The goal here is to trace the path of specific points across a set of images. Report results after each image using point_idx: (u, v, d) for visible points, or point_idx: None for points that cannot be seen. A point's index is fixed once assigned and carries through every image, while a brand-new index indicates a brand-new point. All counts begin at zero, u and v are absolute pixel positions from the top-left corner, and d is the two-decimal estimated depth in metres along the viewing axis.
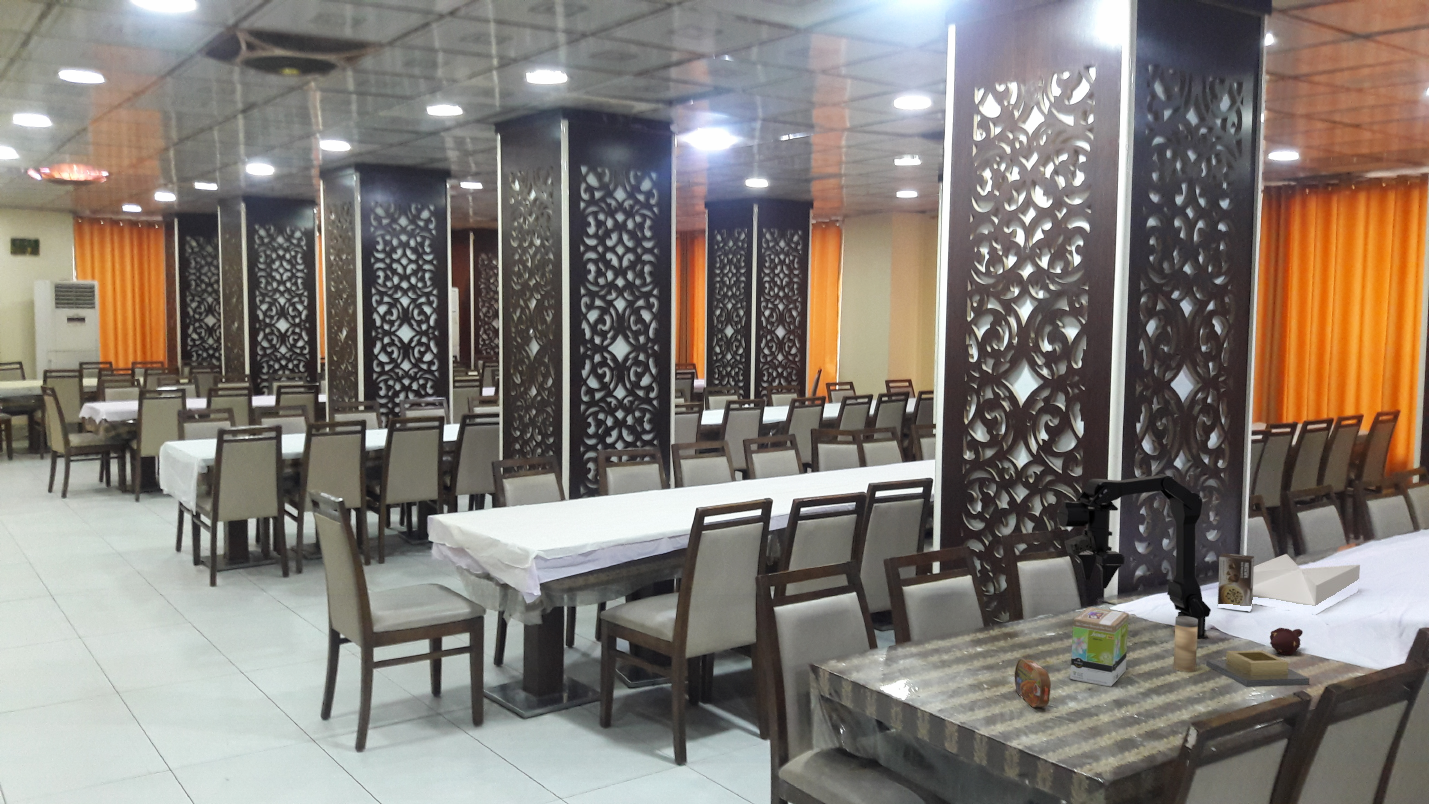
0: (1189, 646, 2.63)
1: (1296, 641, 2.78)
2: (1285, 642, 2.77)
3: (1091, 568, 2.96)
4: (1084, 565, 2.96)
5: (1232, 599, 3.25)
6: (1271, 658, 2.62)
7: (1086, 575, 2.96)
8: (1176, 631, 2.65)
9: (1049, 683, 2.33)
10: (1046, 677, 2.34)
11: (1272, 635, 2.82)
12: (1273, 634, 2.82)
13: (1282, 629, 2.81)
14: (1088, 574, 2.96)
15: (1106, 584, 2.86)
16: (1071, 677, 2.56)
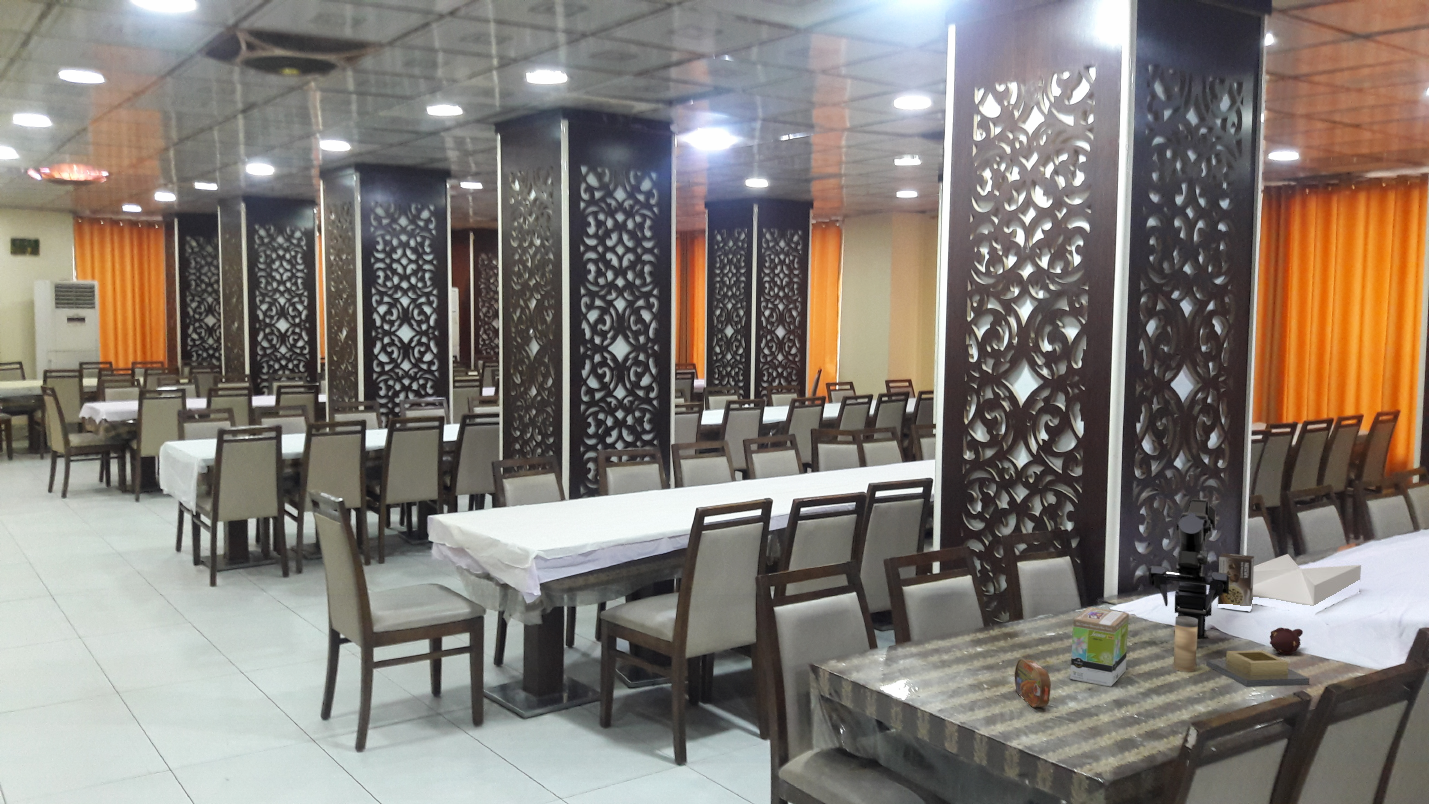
0: (1189, 646, 2.63)
1: (1296, 641, 2.78)
2: (1285, 642, 2.78)
3: None
4: (1166, 589, 2.77)
5: (1232, 599, 3.25)
6: (1271, 658, 2.62)
7: (1166, 599, 2.75)
8: (1176, 631, 2.65)
9: (1049, 683, 2.33)
10: (1046, 677, 2.34)
11: (1272, 635, 2.83)
12: (1273, 634, 2.82)
13: (1282, 629, 2.81)
14: (1167, 600, 2.76)
15: (1208, 607, 2.71)
16: (1071, 677, 2.56)
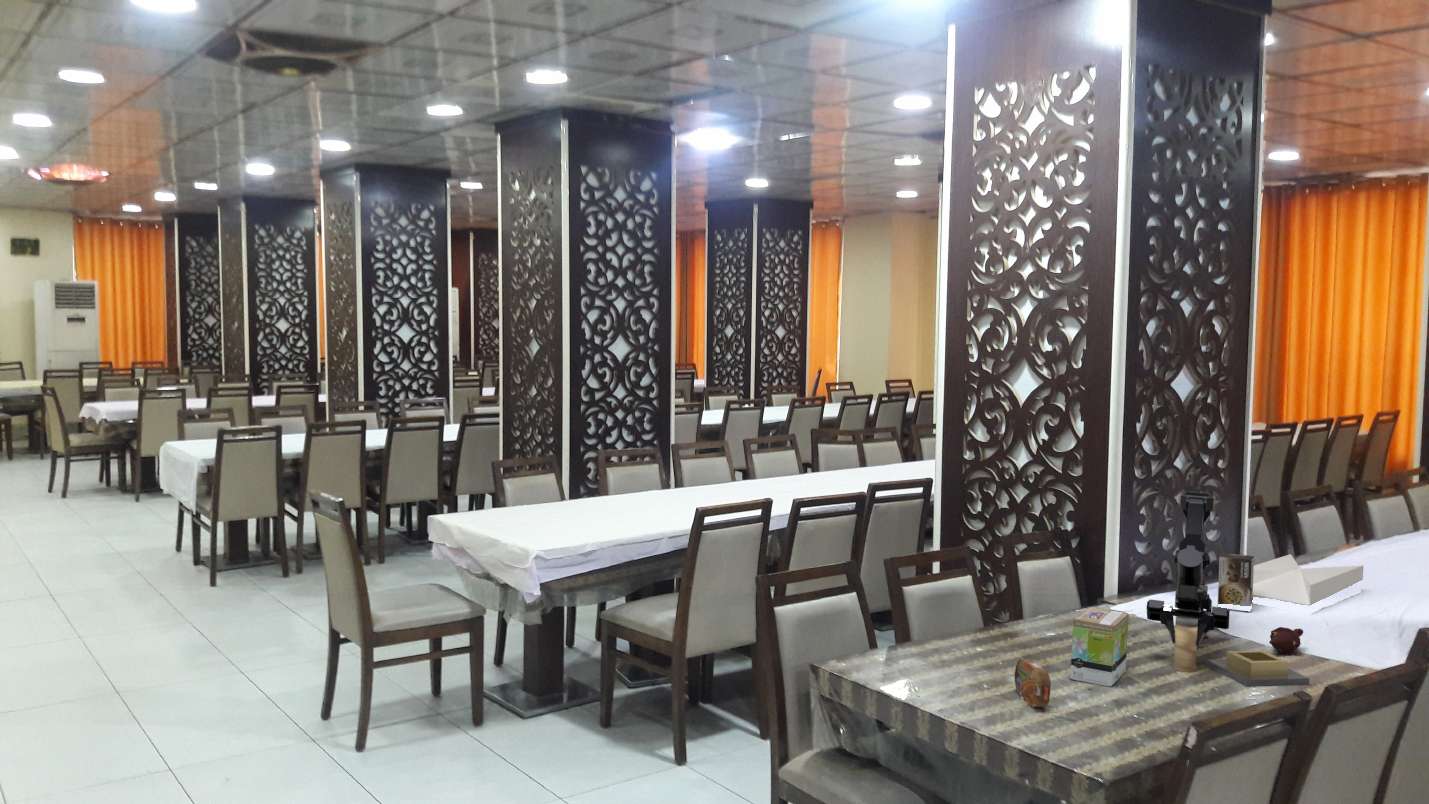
0: (1189, 646, 2.63)
1: (1296, 640, 2.78)
2: (1284, 641, 2.78)
3: None
4: (1173, 625, 2.67)
5: (1232, 599, 3.25)
6: (1271, 658, 2.62)
7: (1174, 636, 2.66)
8: (1176, 631, 2.65)
9: (1049, 683, 2.33)
10: (1046, 677, 2.34)
11: (1272, 634, 2.83)
12: (1273, 633, 2.83)
13: (1282, 628, 2.81)
14: (1174, 636, 2.67)
15: (1200, 642, 2.64)
16: (1071, 677, 2.56)
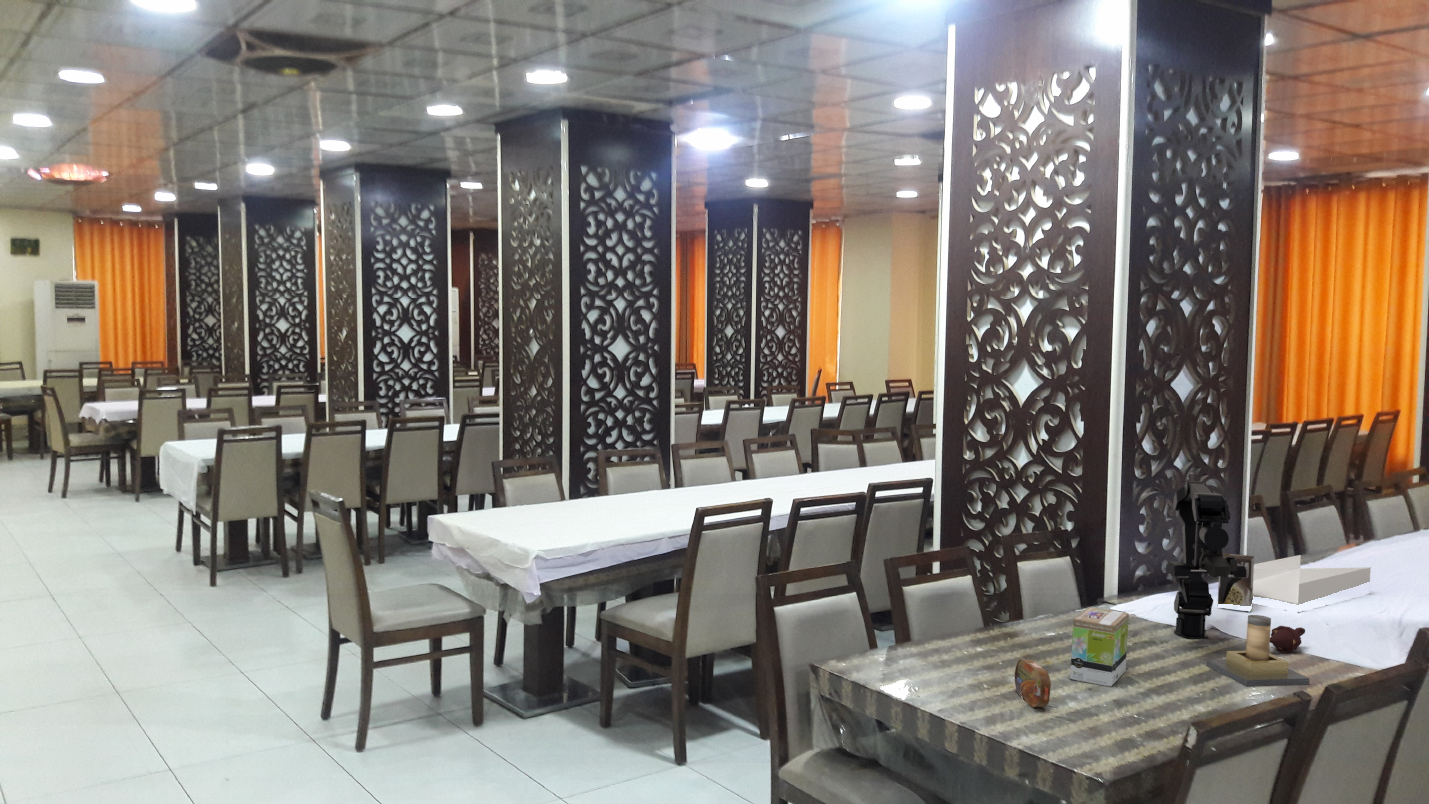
0: (1267, 645, 2.60)
1: (1295, 639, 2.80)
2: (1284, 639, 2.79)
3: None
4: None
5: (1232, 599, 3.25)
6: (1271, 658, 2.62)
7: None
8: (1252, 631, 2.60)
9: (1049, 683, 2.33)
10: (1046, 677, 2.34)
11: (1273, 633, 2.85)
12: (1274, 632, 2.84)
13: (1282, 627, 2.83)
14: None
15: None
16: (1071, 677, 2.56)
